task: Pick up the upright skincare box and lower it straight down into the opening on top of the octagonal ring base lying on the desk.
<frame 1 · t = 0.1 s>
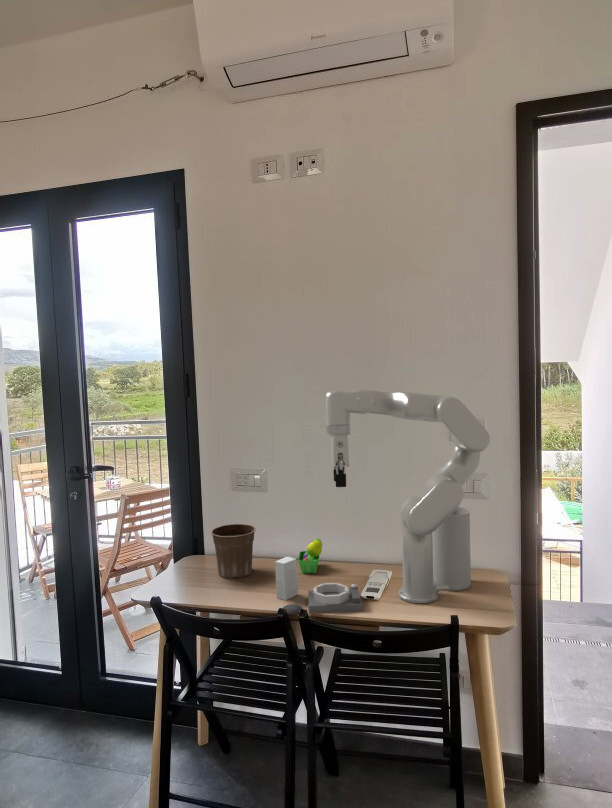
hand: (339, 484, 170), 37 cm above the table, tool pointing down, fingers open, 9 cm apart
fruit basket: (311, 569, 200), on the table
octagonal ring base: (334, 603, 168), on the table
plant pot: (234, 573, 198), on the table
lens cap: (292, 611, 164), on the table
cylinder vase: (451, 585, 181), on the table
skincare box: (287, 596, 175), on the table
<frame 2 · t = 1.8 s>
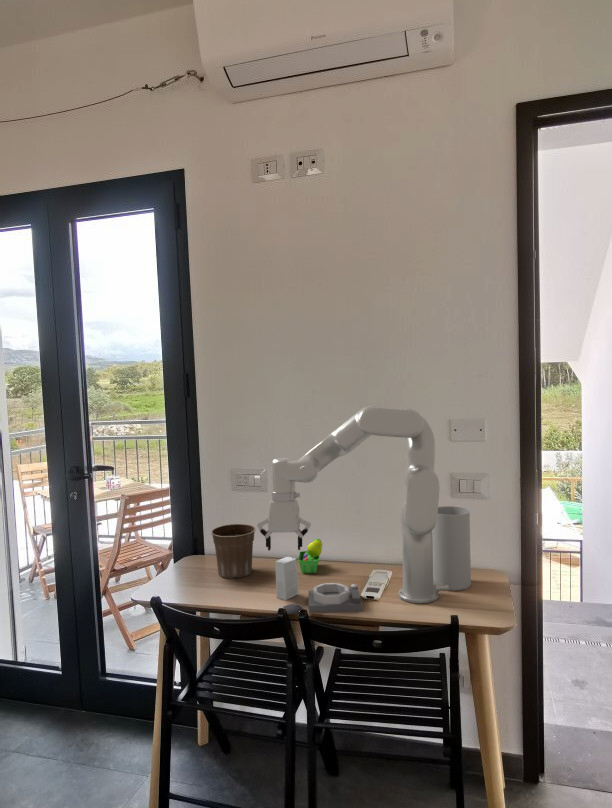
hand: (284, 549, 174), 15 cm above the table, tool pointing down, fingers open, 9 cm apart
nothing on the table moved.
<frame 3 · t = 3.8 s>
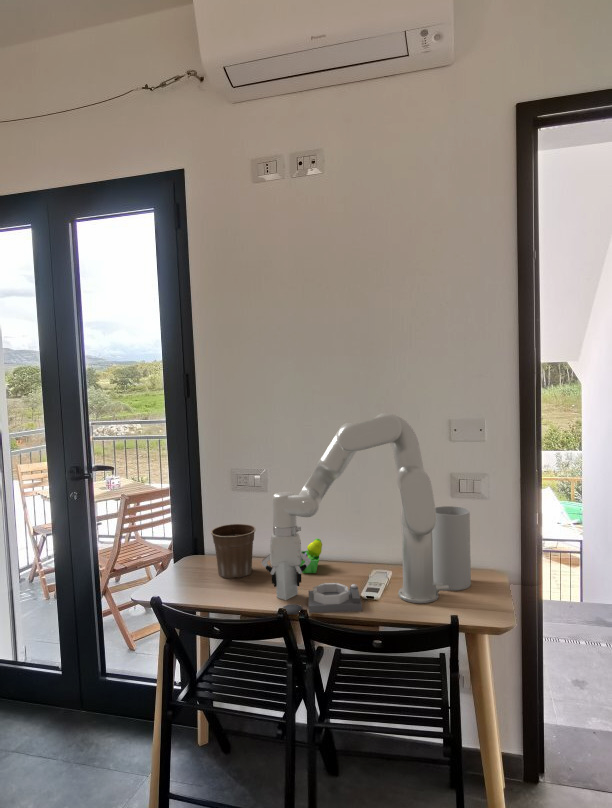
hand: (286, 584, 175), 4 cm above the table, tool pointing down, fingers closed on skincare box, 6 cm apart
skincare box: (287, 596, 175), on the table, touching gripper
everything else where it was.
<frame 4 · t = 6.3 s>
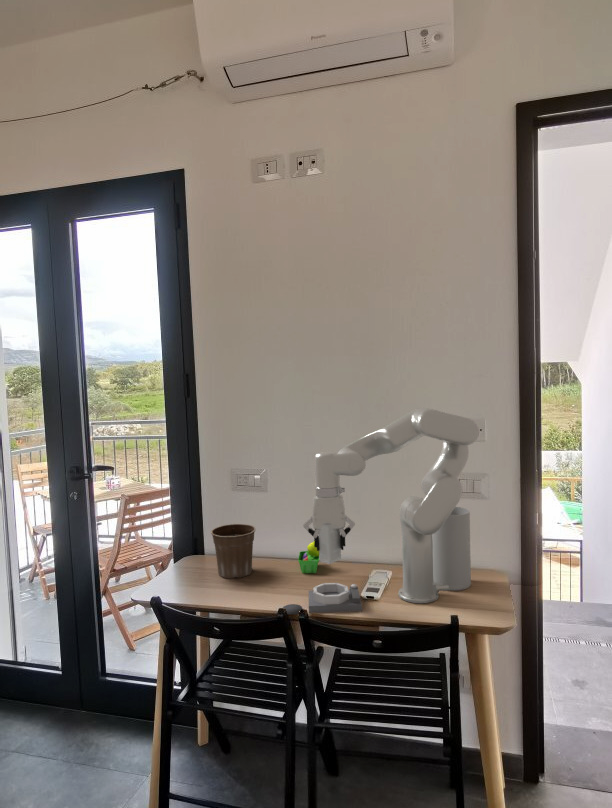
hand: (329, 548, 167), 17 cm above the table, tool pointing down, fingers closed on skincare box, 6 cm apart
skincare box: (330, 561, 167), point 13 cm above the table, touching gripper
everything else where it was.
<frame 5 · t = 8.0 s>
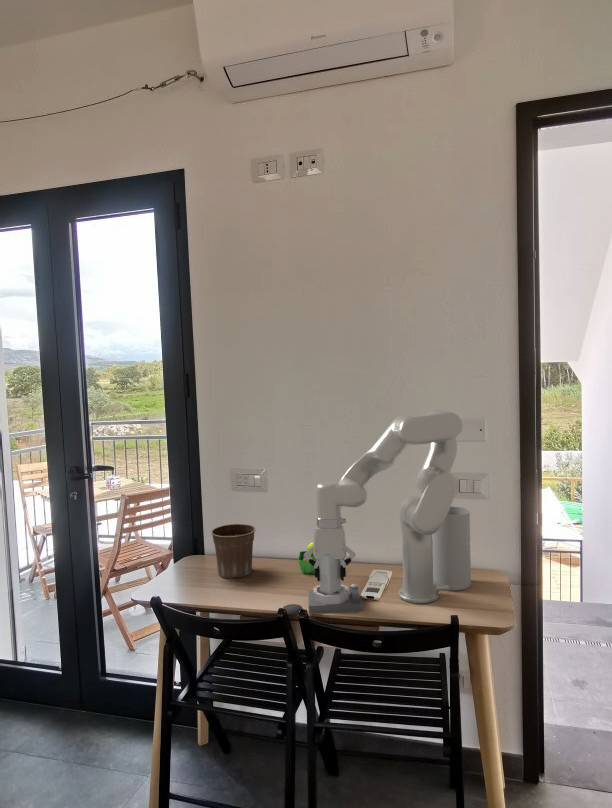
hand: (330, 578, 167), 8 cm above the table, tool pointing down, fingers closed on skincare box, 6 cm apart
skincare box: (330, 591, 168), point 4 cm above the table, touching gripper
everything else where it was.
when the fingers open (7 cm above the table, at t = 9.1 s): skincare box drops 1 cm, resting on octagonal ring base.
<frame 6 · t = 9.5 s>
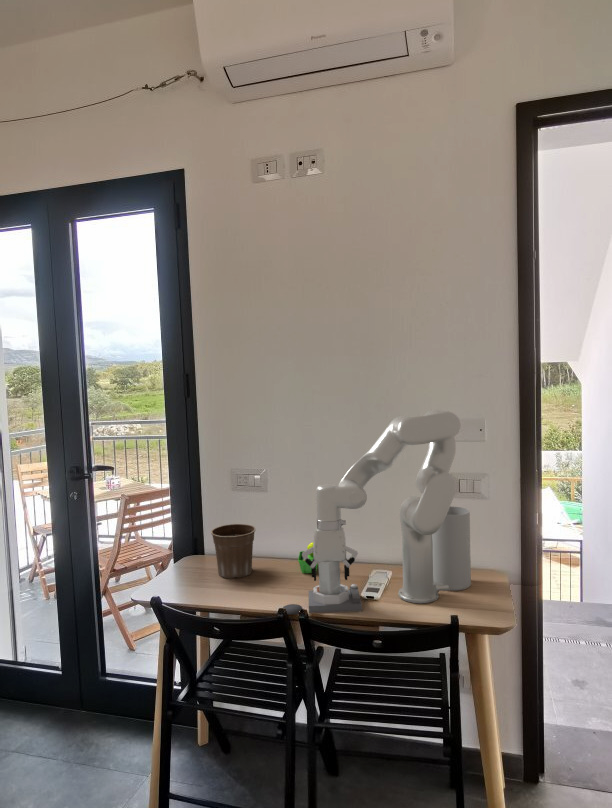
hand: (330, 579, 167), 8 cm above the table, tool pointing down, fingers open, 9 cm apart
skincare box: (330, 598, 168), point 2 cm above the table, touching octagonal ring base
everything else where it was.
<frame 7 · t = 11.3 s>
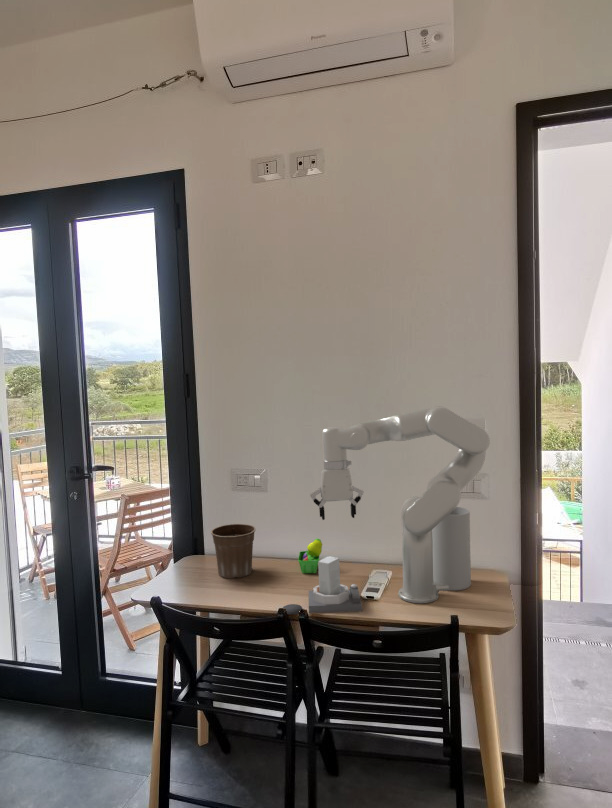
hand: (338, 517, 174), 25 cm above the table, tool pointing down, fingers open, 9 cm apart
nothing on the table moved.
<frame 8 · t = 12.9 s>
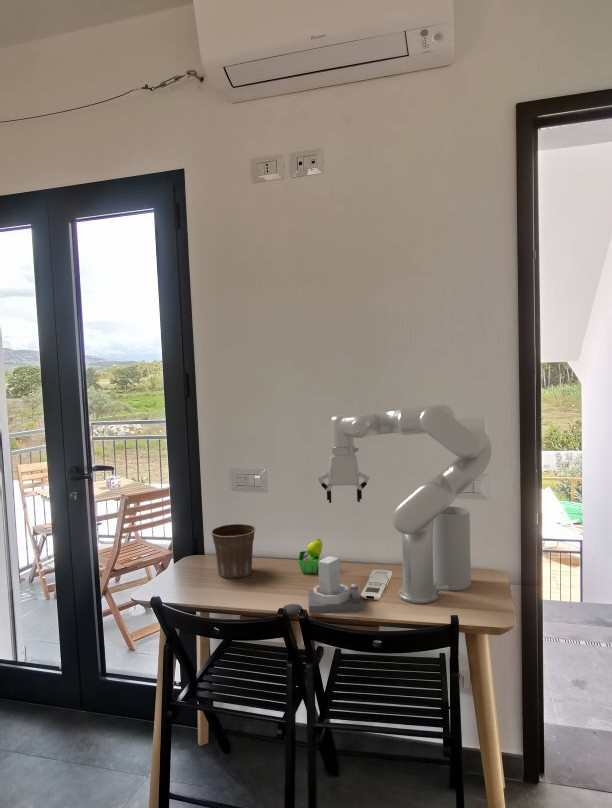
hand: (344, 501, 183), 28 cm above the table, tool pointing down, fingers open, 9 cm apart
nothing on the table moved.
at the end: skincare box 0.3 cm from the target spot on the octagonal ring base, point 1.8 cm above the octagonal ring base's base; skincare box tilted 0°; the gripper is holding nothing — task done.
